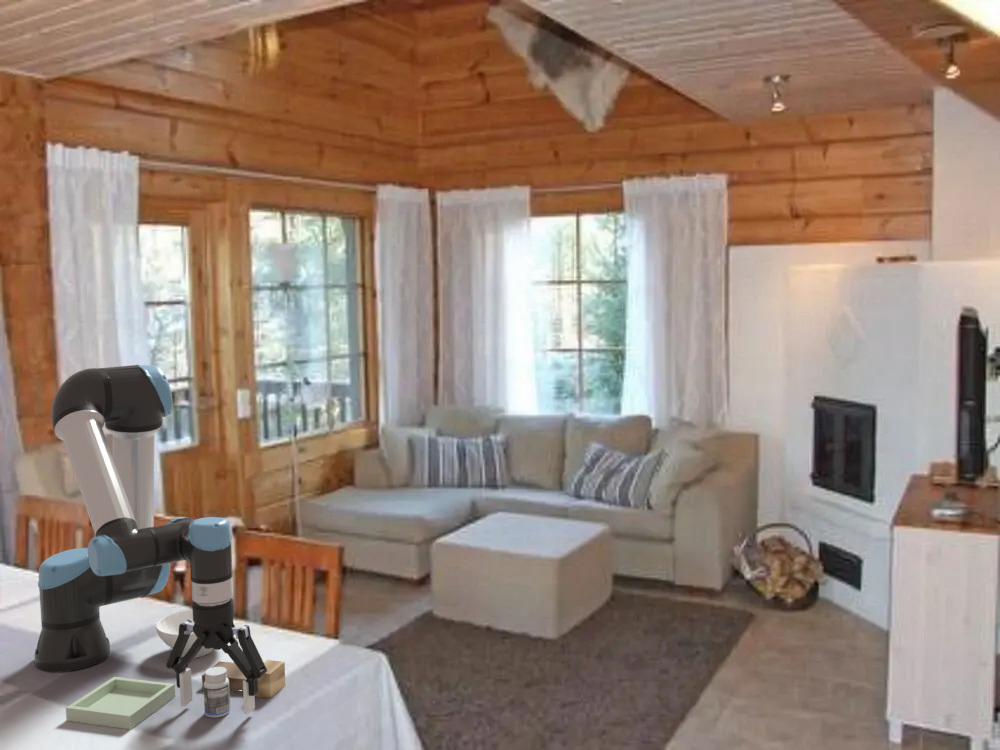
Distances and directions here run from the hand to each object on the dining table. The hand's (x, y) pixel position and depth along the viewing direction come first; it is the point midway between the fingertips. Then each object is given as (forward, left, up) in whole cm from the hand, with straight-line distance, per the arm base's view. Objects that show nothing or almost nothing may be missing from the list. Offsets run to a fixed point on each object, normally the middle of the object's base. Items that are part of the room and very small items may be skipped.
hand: (217, 707), depth 179 cm
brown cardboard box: (-3, +13, -2) cm, 14 cm away
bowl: (-21, +25, -1) cm, 33 cm away
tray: (-19, -3, -1) cm, 19 cm away
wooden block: (+5, +11, -1) cm, 12 cm away
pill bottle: (0, 0, -1) cm, 1 cm away
